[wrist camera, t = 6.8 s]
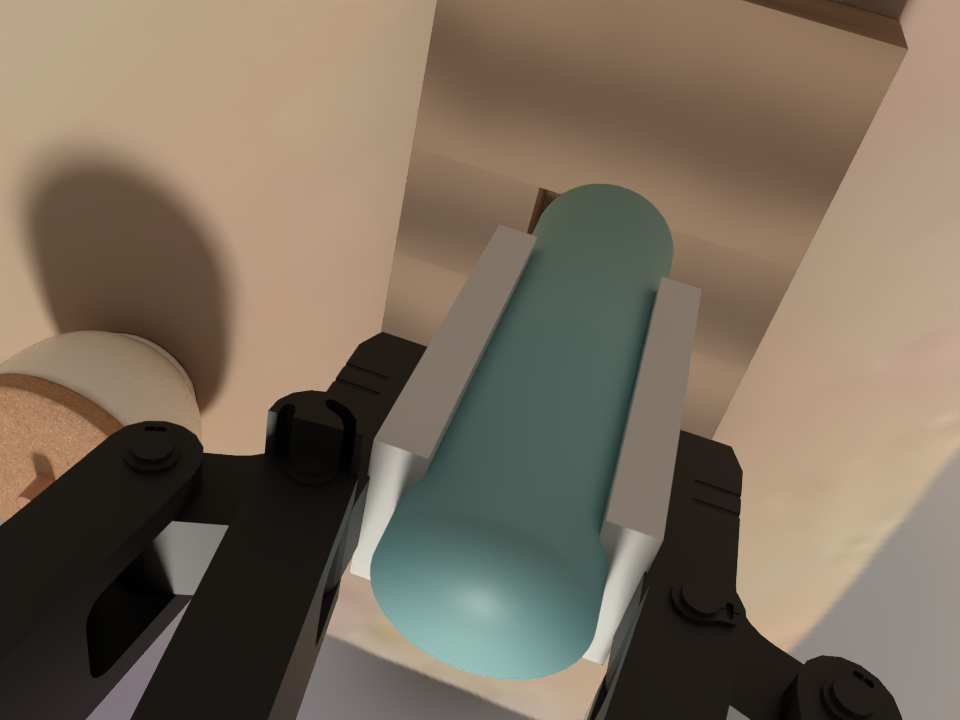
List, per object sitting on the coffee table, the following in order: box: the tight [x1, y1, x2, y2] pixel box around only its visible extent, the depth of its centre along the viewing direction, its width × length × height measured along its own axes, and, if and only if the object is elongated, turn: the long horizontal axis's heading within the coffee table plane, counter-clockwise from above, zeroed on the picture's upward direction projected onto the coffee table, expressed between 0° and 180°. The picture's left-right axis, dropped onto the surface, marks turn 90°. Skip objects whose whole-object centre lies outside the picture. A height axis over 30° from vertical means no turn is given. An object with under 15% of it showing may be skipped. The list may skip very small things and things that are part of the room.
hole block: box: [381, 0, 908, 440], centre depth 34 cm, size 20×14×3 cm
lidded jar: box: [0, 330, 202, 521], centre depth 44 cm, size 11×11×9 cm
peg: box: [370, 184, 674, 679], centre depth 16 cm, size 3×3×10 cm
